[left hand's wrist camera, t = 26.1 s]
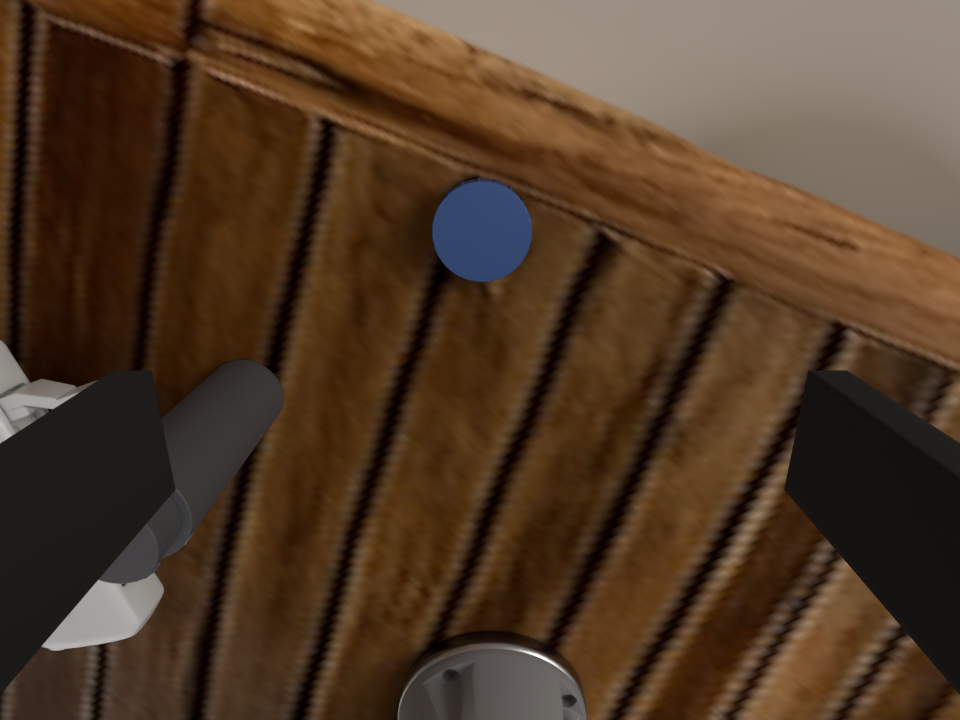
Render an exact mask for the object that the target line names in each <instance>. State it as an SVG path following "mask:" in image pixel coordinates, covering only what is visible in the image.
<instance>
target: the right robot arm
mask: <svg viewBox="0 0 960 720" xmlns="http://www.w3.org/2000/svg"><path fill="white" fill-rule="evenodd" d="M96 381H98V380H96ZM96 381H94V382H91V383H88V384H85V385H82V386H79V387H75V386H74V385H69V384H65V383H60V382H55V381H50V380H45V379H40V380H37V381H34V382H31V383H30V381H29V380H28V378H27V377H26V375H25V374H24V372H23V371H22V369H21V368H20V366H19V365H18V363H17V362H16V360H15V359H14V357H13V355H12V354H11V352H10V351H9V349H8V347H7V346H6V345H5V343H4V342H3V341H1V340H0V443H1V442H3V441H5V440H6V439H8V438H9V437H11V436H12V435H14V434H15V433H17V432H19V431H20V430H22V429H23V428H25V427H26V426H28V425H29V424H31V423H33V422H34V421H36V420H37V419H39V418H40V417H42V416H43V415H45V414H46V413H48V412H49V411H48V409H54V408H56V407H57V406H59V405H60V404H62V403H64V402H65V401H67V400H68V399H70V398H71V397H73V396H74V395H76V394H78V393H79V392H81V391H82V390H84V389H85V388H87V387H88V386H90V385H92V384H93V383H95V382H96ZM191 536H192V535H191ZM189 539H190V538H189ZM189 539H188V540H189ZM186 543H187V542H186ZM186 543H185V544H186ZM163 592H164V587H163V585H162V583H161V582H160V580H159V579H158V577H157V575H156V574H155V572H154V573H153V574H151V575H150V576H149V577H147V578H146V579H145V578H144V579H142V580H140V581H137V582H132V583H126V584H114V583H108V582H104V581H100V580H98V581H97V582H96V583H95V584H94V586H93V587H92V588H91V589H90V590H89V591H88V593H87V594H86V595H85V596H84V597H83V598H82V600H81V601H80V602H79V603H78V604H77V605H76V607H75V608H74V609H73V610H72V611H71V612H70V614H69V615H68V616H67V617H66V618H65V619H64V621H63V622H62V623H61V624H60V625H59V626H58V628H57V629H56V630H55V631H54V632H53V633H52V635H51V636H50V637H49V638H48V639H47V640H46V642H45V643H44V644H43V645H42V646H41V647H44V648H48V649H50V650H54V651H58V650H63V649H68V648H77V647H85V646H92V645H98V644H104V643H109V642H114V641H118V640H122V639H126V638H129V637H131V636H133V635H135V634H136V633H137V632H138V631H139V630H140V629H141V628H142V627H143V626H144V625H145V623H146V622H147V621H148V619H149V618H150V617H151V615H152V614H153V612H154V610H155V609H156V607H157V605H158V603H159V601H160V599H161V597H162V595H163Z"/></svg>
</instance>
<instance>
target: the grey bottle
mask: <svg viewBox="0 0 960 720" xmlns="http://www.w3.org/2000/svg"><path fill="white" fill-rule="evenodd" d="M282 405H283V391H282V388H281V385H280V383H279V381H278V379H277V378H276V376H275V375H274V374H273V373H272V372H271V371H270V370H269V369H267V368H266V367H264V366H263V365H261V364H259V363H256V362H253V361H249V360H233V361H230V362H227V363H225V364H223V365H221V366H220V367H219V368H217V369H216V370H215V371H214V372H213V373H212V374H211V375H210V376H208V377H207V378H206V379H205V380H204V381H203V382H202V383H201V384H199V385H198V386H197V387H196V388H195V389H194V390H193V391H192V392H191V393H189V394H188V395H187V396H186V397H185V398H184V399H183V400H182V401H180V402H179V403H178V404H177V405H176V406H175V407H174V408H173V409H171V410H170V411H169V412H168V413H167V414H166V415H165V416H164V417H162V418H161V420H162V425H163V430H164V435H165V440H166V445H167V449H168V454H169V459H170V464H171V469H172V474H173V479H174V484H175V489H176V490H175V491H174V492H173V493H172V495H171V496H170V497H169V498H168V499H167V500H166V502H165V503H164V504H163V505H162V506H161V507H160V509H159V510H158V511H157V512H156V513H155V514H154V516H153V517H152V518H151V519H150V520H149V521H148V523H147V524H146V525H145V526H144V527H143V528H142V530H141V531H140V532H139V533H138V534H137V535H136V537H135V538H134V539H133V540H132V541H131V542H130V544H129V545H128V546H127V547H126V548H125V549H124V551H123V552H122V553H121V554H120V555H119V556H118V558H117V559H116V560H115V561H114V562H113V563H112V565H111V566H110V567H109V568H108V569H107V570H106V572H105V573H104V574H103V575H102V576H101V577H100V579H99V580H100V581H104V582H108V583H114V584H126V583H132V582H137V581H140V580H142V579H144V578H145V579H146V578H147V577H149V576H150V575H151V574H153V573H154V572H155V571H156V569H157V568H158V567H159V565H160V564H161V561H160V560H161V559H162V558H164V557H167V556H169V555H171V554H174V553H175V552H177V551H178V550H179V549H181V548H182V547H183V546H184V545H185V543H186V542H187V541H188V539H189V538H190V537H191V535H192V534H193V532H194V531H195V530H196V528H197V527H198V525H199V524H200V523H201V521H202V520H203V519H204V517H205V516H206V514H207V513H208V512H209V510H210V509H211V507H212V506H213V505H214V503H215V502H216V500H217V499H218V498H219V496H220V495H221V494H222V492H223V491H224V489H225V488H226V487H227V485H228V484H229V482H230V481H231V480H232V478H233V477H234V475H235V474H236V473H237V471H238V470H239V469H240V467H241V466H242V464H243V463H244V462H245V460H246V459H247V457H248V456H249V455H250V453H251V452H252V450H253V449H254V448H255V446H256V445H257V444H258V442H259V441H260V439H261V438H262V437H263V435H264V434H265V432H266V431H267V430H268V428H269V427H270V425H271V424H272V423H273V421H274V420H275V418H276V417H277V416H278V414H279V413H280V411H281V408H282Z"/></svg>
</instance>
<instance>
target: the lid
mask: <svg viewBox="0 0 960 720" xmlns="http://www.w3.org/2000/svg"><path fill="white" fill-rule="evenodd" d="M523 202H524V201H523V199H522V198H519V196H518V195H517V194H516V193H515V192H514V191H513V190H512V188H511V186H509V187H508V186H507V185H505V184H503V183H501V182H499V181H497V180H496V179H494V180H492V179H485V178H480V177H478V179H471V180H468V181H465V182H464V181H462V183H461V184H459V185H457V186H456V187H454V188H453V189H452V190H449V191H448V194H447V195H446V196H445V197H444V199H443V200H442V202H439V204H438V206H437V207H438V209H437V211H436V214H435V216H434V219H433V220H432V223H433V226H432V240H433V243H434V247H435V250H436V252H437V255H438V256H439V258H440V259H441V261H442V262H443V264H444V265H445V266H446V267H447V268H448V269H449V270H450V271H452V272H453V273H454V274H456V275H458V276H460V277H461V278H464V279H467V280H470V281H476V282H488V281H494V280H497V279H500V278H502V277H505V276H506V275H508V274H510V273H511V272H512V271H513V270H515V269H516V268H517V267H518V266H519V265H520V263H521V262H522V261H523V259H524V258H525V256H526V254H527V252H528V250H529V247H530V243H531V237H532V234H533V232H532V226H531V220H530V217H531V216H530V214H529V212H528V211H527V209H526V207H525V205H524V204H523Z"/></svg>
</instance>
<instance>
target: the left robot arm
mask: <svg viewBox="0 0 960 720" xmlns="http://www.w3.org/2000/svg"><path fill="white" fill-rule="evenodd" d="M175 490H176V489H175V484H174V479H173V474H172V469H171V464H170V459H169V454H168V449H167V445H166V440H165V435H164V430H163V425H162V420H161V415H160V410H159V405H158V400H157V395H156V391H155V386H154V381H153V376H152V371H112V372H110V373H109V374H107V375H105V376H104V377H102V378H101V379H99V380H98V381H96V382H95V383H93V384H92V385H90V386H88V387H87V388H85V389H84V390H82V391H81V392H79V393H78V394H76V395H74V396H73V397H71V398H70V399H68V400H67V401H65V402H64V403H62V404H60V405H59V406H57V407H56V408H54V409H53V410H51V411H50V412H48V413H46V414H45V415H43V416H42V417H40V418H39V419H37V420H36V421H34V422H33V423H31V424H29V425H28V426H26V427H25V428H23V429H22V430H20V431H19V432H17V433H15V434H14V435H12V436H11V437H9V438H8V439H6V440H5V441H3V442H1V443H0V694H1V693H2V692H3V691H4V689H5V688H6V687H7V686H8V685H9V684H10V682H11V681H12V680H13V679H14V678H15V677H16V675H17V674H18V673H19V672H20V671H21V670H22V668H23V667H24V666H25V665H26V664H27V663H28V661H29V660H30V659H31V658H32V657H33V656H34V654H35V653H36V652H37V651H38V650H39V649H40V647H41V646H42V645H43V644H44V643H45V642H46V640H47V639H48V638H49V637H50V636H51V635H52V633H53V632H54V631H55V630H56V629H57V628H58V626H59V625H60V624H61V623H62V622H63V621H64V619H65V618H66V617H67V616H68V615H69V614H70V612H71V611H72V610H73V609H74V608H75V607H76V605H77V604H78V603H79V602H80V601H81V600H82V598H83V597H84V596H85V595H86V594H87V593H88V591H89V590H90V589H91V588H92V587H93V586H94V584H95V583H96V582H97V581H98V580H99V579H100V577H101V576H102V575H103V574H104V573H105V572H106V570H107V569H108V568H109V567H110V566H111V565H112V563H113V562H114V561H115V560H116V559H117V558H118V556H119V555H120V554H121V553H122V552H123V551H124V549H125V548H126V547H127V546H128V545H129V544H130V542H131V541H132V540H133V539H134V538H135V537H136V535H137V534H138V533H139V532H140V531H141V530H142V528H143V527H144V526H145V525H146V524H147V523H148V521H149V520H150V519H151V518H152V517H153V516H154V514H155V513H156V512H157V511H158V510H159V509H160V507H161V506H162V505H163V504H164V503H165V502H166V500H167V499H168V498H169V497H170V496H171V495H172V493H173V492H174V491H175ZM784 490H785V491H786V492H787V493H788V495H789V496H790V497H791V498H792V499H793V500H794V502H795V503H796V504H797V505H798V506H799V507H800V509H801V510H802V511H803V512H804V513H805V514H806V516H807V517H808V518H809V519H810V520H811V521H812V523H813V524H814V525H815V526H816V527H817V528H818V530H819V531H820V532H821V533H822V534H823V535H824V537H825V538H826V539H827V540H828V541H829V542H830V544H831V545H832V546H833V547H834V548H835V549H836V551H837V552H838V553H839V554H840V555H841V556H842V558H843V559H844V560H845V561H846V562H847V563H848V565H849V566H850V567H851V568H852V569H853V570H854V572H855V573H856V574H857V575H858V576H859V577H860V579H861V580H862V581H863V582H864V583H865V584H866V586H867V587H868V588H869V589H870V590H871V591H872V593H873V594H874V595H875V596H876V597H877V598H878V600H879V601H880V602H881V603H882V604H883V605H884V607H885V608H886V609H887V610H888V611H889V612H890V614H891V615H892V616H893V617H894V618H895V619H896V621H897V622H898V623H899V624H900V625H901V626H902V628H903V629H904V630H905V631H906V632H907V633H908V635H909V636H910V637H911V638H912V639H913V640H914V642H915V643H916V644H917V645H918V646H919V647H920V649H921V650H922V651H923V652H924V653H925V654H926V656H927V657H928V658H929V659H930V660H931V661H932V663H933V664H934V665H935V666H936V667H937V668H938V670H939V671H940V672H941V673H942V674H943V675H944V677H945V678H946V679H947V680H948V681H949V682H950V684H951V685H952V686H953V687H954V688H955V689H956V691H957V692H958V693H959V694H960V443H959V442H957V441H955V440H954V439H952V438H951V437H949V436H948V435H946V434H945V433H943V432H941V431H940V430H938V429H937V428H935V427H934V426H932V425H931V424H929V423H927V422H926V421H924V420H923V419H921V418H920V417H918V416H917V415H915V414H914V413H912V412H910V411H909V410H907V409H906V408H904V407H903V406H901V405H900V404H898V403H896V402H895V401H893V400H892V399H890V398H889V397H887V396H886V395H884V394H882V393H881V392H879V391H878V390H876V389H875V388H873V387H872V386H870V385H868V384H867V383H865V382H864V381H862V380H861V379H859V378H858V377H856V376H855V375H853V374H851V373H850V372H848V371H808V376H807V381H806V386H805V391H804V395H803V400H802V405H801V410H800V415H799V420H798V425H797V430H796V435H795V440H794V445H793V449H792V454H791V459H790V464H789V469H788V474H787V479H786V484H785V489H784ZM398 720H587V710H586V704H585V698H584V693H583V688H582V685H581V682H580V679H579V677H578V675H577V673H576V672H575V670H574V668H573V667H572V666H571V664H570V663H569V662H568V661H567V660H566V659H565V658H564V657H563V656H562V655H560V654H559V653H558V652H556V651H555V650H554V649H552V648H551V647H549V646H547V645H545V644H543V643H541V642H539V641H537V640H534V639H531V638H528V637H525V636H521V635H516V634H511V633H501V632H485V633H475V634H469V635H464V636H461V637H457V638H454V639H451V640H449V641H446V642H444V643H442V644H440V645H438V646H436V647H435V648H433V649H431V650H430V651H428V652H427V653H426V654H424V655H423V656H422V657H421V658H420V659H419V660H418V661H417V662H416V663H415V664H414V665H413V667H412V668H411V669H410V671H409V672H408V674H407V676H406V678H405V680H404V683H403V685H402V689H401V695H400V702H399V709H398Z"/></svg>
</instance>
